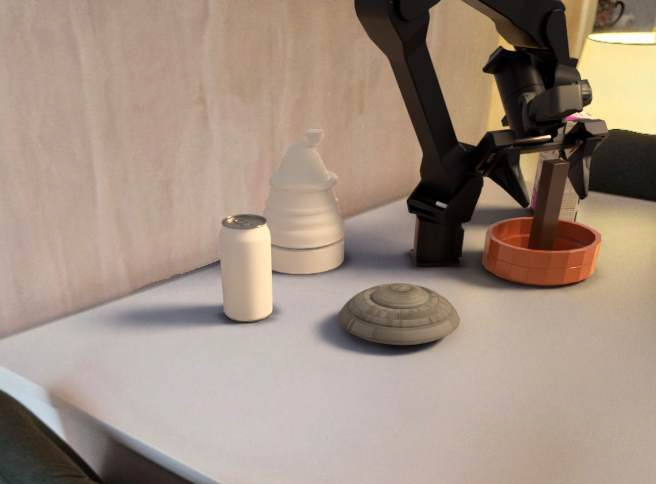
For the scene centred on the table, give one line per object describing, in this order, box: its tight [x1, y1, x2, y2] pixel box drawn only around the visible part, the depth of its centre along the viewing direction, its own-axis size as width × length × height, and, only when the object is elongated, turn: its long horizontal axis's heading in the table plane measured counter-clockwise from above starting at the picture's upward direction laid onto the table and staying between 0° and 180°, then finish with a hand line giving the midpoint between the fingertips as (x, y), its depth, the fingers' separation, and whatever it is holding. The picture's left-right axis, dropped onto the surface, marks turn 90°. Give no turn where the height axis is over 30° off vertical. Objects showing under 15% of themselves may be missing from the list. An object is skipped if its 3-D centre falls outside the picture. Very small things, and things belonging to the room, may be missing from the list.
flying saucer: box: [338, 282, 461, 346], centre depth 95 cm, size 15×15×6 cm
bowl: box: [481, 216, 602, 287], centre depth 110 cm, size 16×16×5 cm
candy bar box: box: [529, 109, 596, 222], centre depth 124 cm, size 11×5×16 cm, turn 179°
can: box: [218, 213, 273, 323], centre depth 98 cm, size 6×6×12 cm
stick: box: [527, 159, 570, 251], centre depth 107 cm, size 4×4×14 cm
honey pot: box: [262, 128, 346, 275], centre depth 111 cm, size 13×13×18 cm
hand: (556, 202), depth 104 cm, fingers open, 9 cm apart
